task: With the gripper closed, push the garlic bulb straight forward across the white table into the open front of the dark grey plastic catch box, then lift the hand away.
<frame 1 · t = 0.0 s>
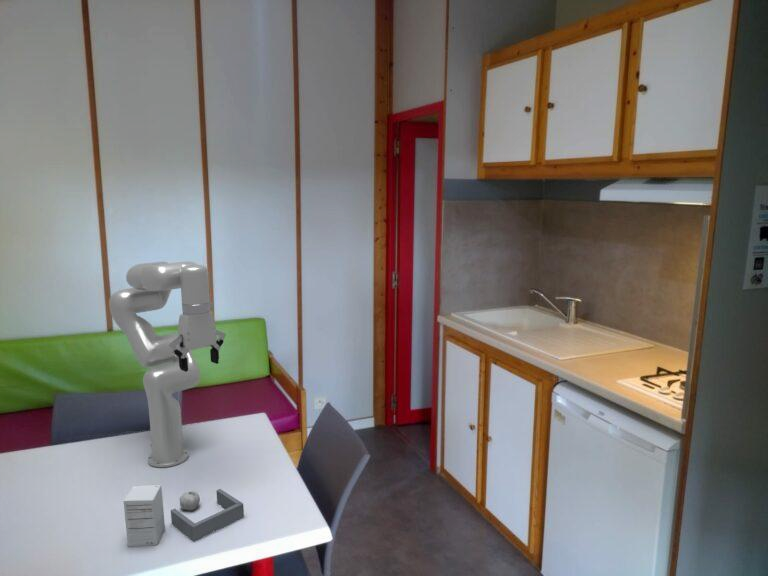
hand: (199, 366, 167), 37 cm above the table, tool pointing down, fingers open, 9 cm apart
garlic: (190, 508, 161), on the table
catch box: (207, 520, 155), on the table
supplement box: (146, 538, 148), on the table
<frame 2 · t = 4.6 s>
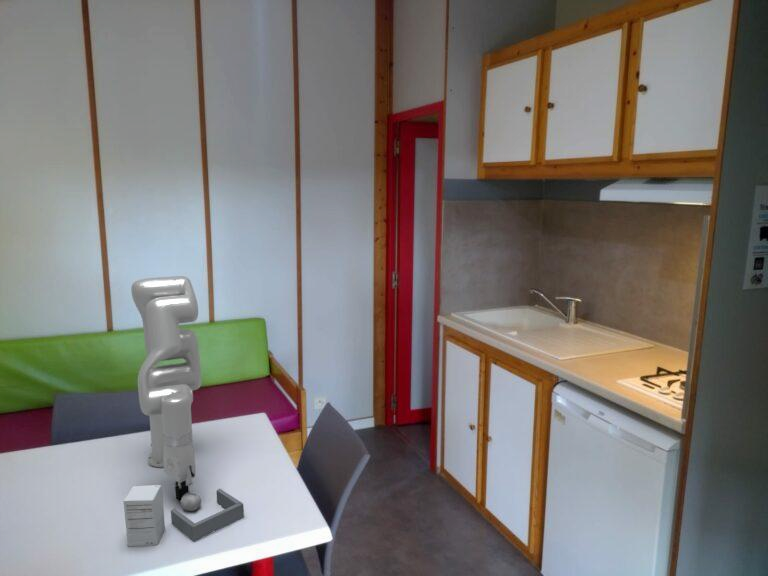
hand: (182, 498, 164), 1 cm above the table, tool pointing down, fingers closed
garlic: (191, 509, 161), on the table, touching gripper
everything else where it was.
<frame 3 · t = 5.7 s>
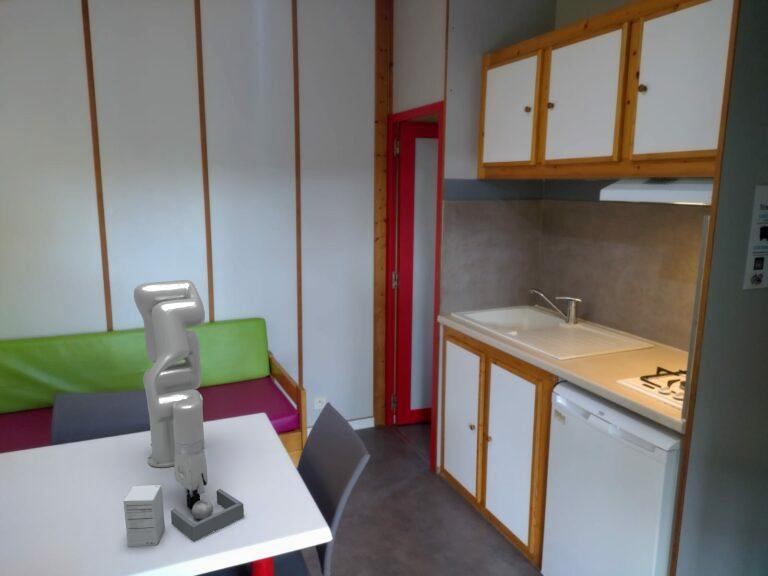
hand: (194, 506, 160), 1 cm above the table, tool pointing down, fingers closed
garlic: (203, 517, 157), on the table, touching gripper
everything else where it was.
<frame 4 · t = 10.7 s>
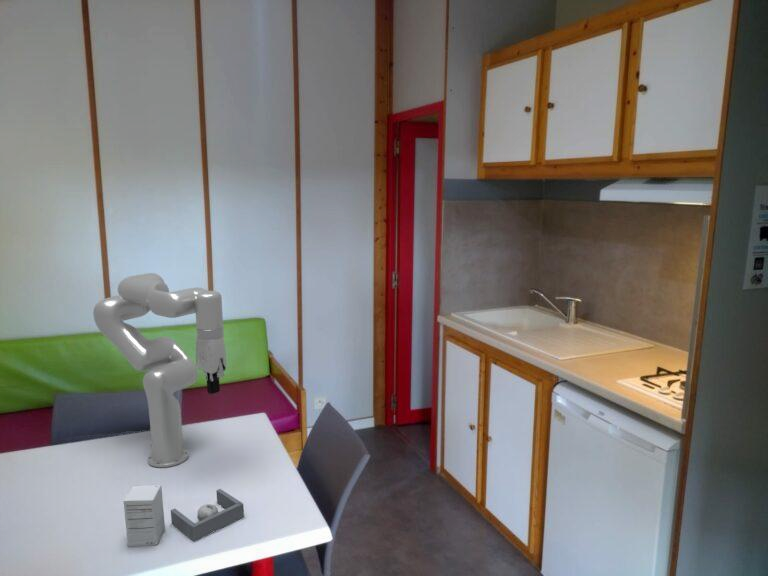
hand: (213, 392, 174), 27 cm above the table, tool pointing down, fingers closed
garlic: (208, 522, 155), on the table
everything else where it was.
at the end: garlic inside the target area on the catch box (0.2 cm from its centre), point 0.0 cm above the catch box's base; the gripper is holding nothing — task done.
